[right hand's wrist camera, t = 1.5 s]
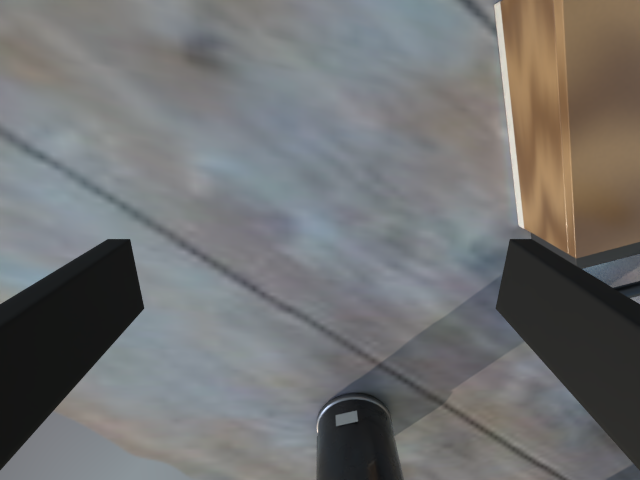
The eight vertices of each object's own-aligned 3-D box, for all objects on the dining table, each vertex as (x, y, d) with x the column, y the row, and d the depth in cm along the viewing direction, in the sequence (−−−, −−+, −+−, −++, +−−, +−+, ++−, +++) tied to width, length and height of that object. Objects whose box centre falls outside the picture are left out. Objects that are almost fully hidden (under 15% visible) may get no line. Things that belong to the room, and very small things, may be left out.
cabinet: (634, 193, 34) (728, 219, 26) (518, 225, 35) (575, 259, 27) (637, -45, 27) (764, -107, 19) (494, 4, 28) (560, -36, 21)
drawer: (635, 266, 36) (699, 298, 30) (536, 291, 37) (579, 328, 31) (638, -4, 27) (729, -37, 21) (511, 38, 28) (563, 19, 22)
